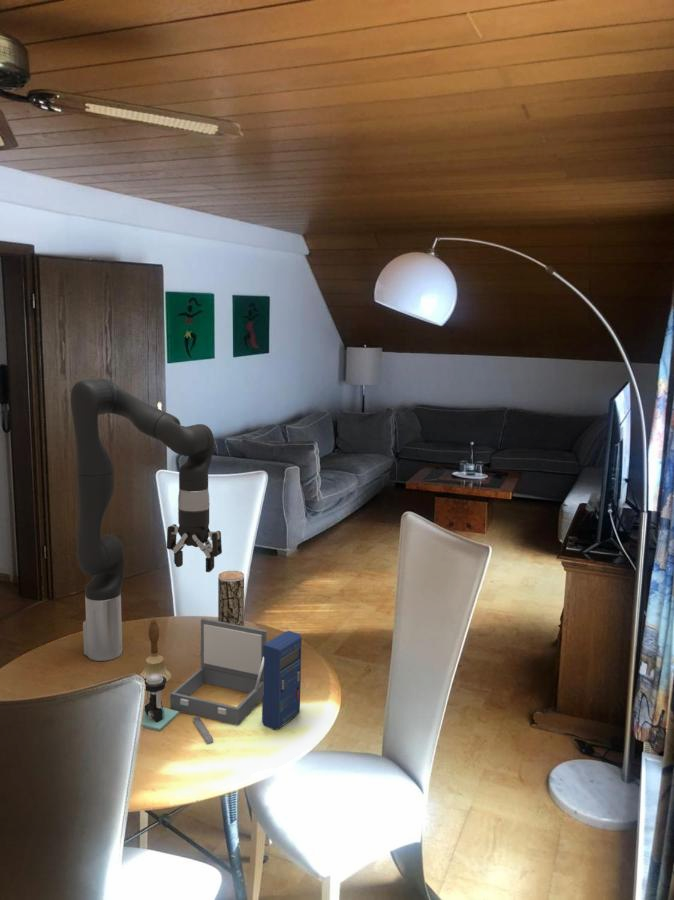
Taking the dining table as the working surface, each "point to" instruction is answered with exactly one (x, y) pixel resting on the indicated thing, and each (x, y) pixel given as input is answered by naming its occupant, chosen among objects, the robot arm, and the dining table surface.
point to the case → (225, 671)
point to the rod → (203, 730)
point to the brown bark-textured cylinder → (231, 597)
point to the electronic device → (281, 679)
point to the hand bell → (155, 655)
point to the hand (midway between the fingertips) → (194, 568)
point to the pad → (159, 725)
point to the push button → (155, 696)
